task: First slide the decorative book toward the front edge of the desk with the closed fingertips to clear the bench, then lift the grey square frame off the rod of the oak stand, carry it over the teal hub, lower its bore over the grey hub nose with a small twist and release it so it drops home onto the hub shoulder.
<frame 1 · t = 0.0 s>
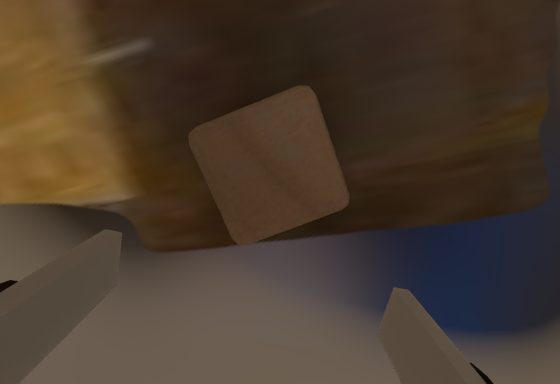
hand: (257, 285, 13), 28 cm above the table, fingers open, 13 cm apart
wooden block: (272, 150, 39), on the table
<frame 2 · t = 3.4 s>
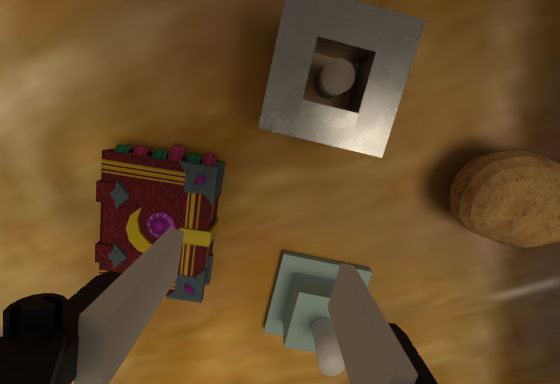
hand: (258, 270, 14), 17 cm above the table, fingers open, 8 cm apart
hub: (315, 298, 34), on the table
potato: (485, 190, 32), on the table
grey square frame: (328, 84, 24), point 5 cm above the table, touching stand
decorative book: (171, 211, 32), on the table
stand: (318, 91, 29), on the table
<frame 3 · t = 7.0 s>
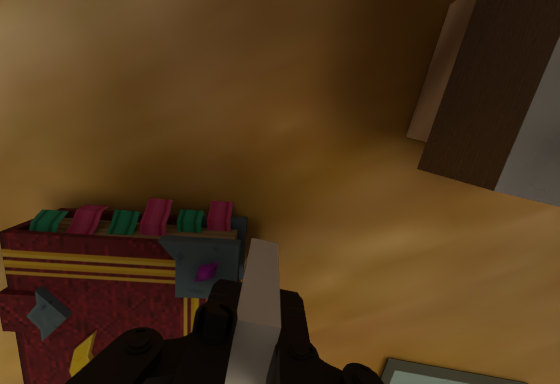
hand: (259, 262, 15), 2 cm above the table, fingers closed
decorative book: (161, 305, 19), on the table, touching gripper
stand: (484, 89, 15), on the table
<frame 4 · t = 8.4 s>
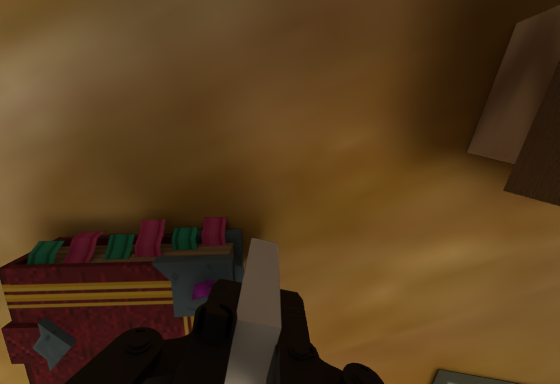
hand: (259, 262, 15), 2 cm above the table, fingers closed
decorative book: (166, 322, 19), on the table
stand: (546, 106, 15), on the table
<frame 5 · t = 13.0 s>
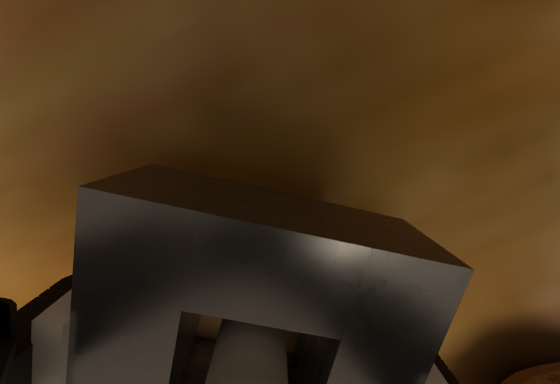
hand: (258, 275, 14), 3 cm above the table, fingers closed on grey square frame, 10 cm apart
grey square frame: (255, 302, 12), point 5 cm above the table, touching gripper, stand
stand: (260, 251, 17), on the table
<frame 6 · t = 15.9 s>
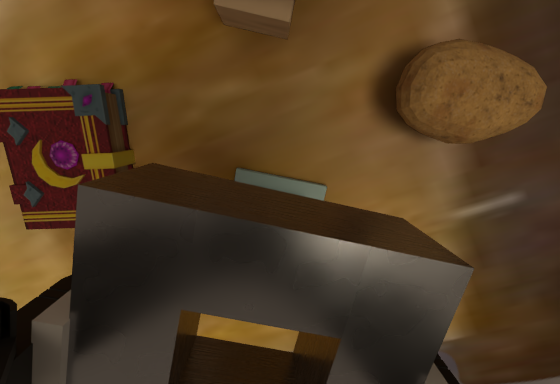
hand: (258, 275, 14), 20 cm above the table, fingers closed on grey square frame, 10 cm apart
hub: (273, 218, 34), on the table
potato: (438, 99, 32), on the table
grey square frame: (255, 301, 12), point 22 cm above the table, touching gripper
decorative book: (88, 152, 33), on the table
when the fingers open (4 cm above the table, at t = 19.2 s): grey square frame stays where it is, resting on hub.
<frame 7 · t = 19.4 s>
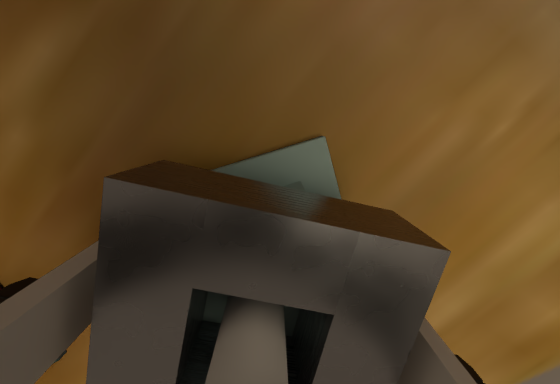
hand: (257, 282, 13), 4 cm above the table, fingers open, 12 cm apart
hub: (261, 244, 17), on the table
grey square frame: (257, 288, 13), point 5 cm above the table, touching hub
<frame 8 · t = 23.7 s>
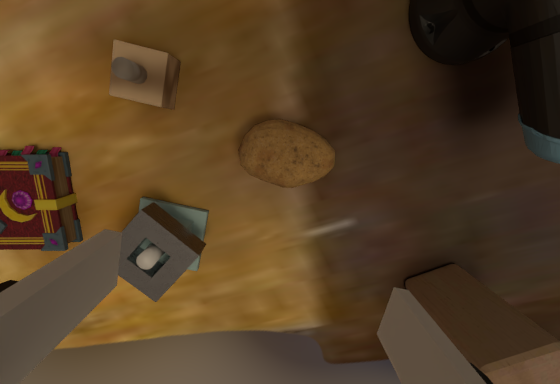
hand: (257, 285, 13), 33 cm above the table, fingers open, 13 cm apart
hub: (171, 233, 47), on the table
potato: (286, 152, 44), on the table
grey square frame: (160, 245, 42), point 5 cm above the table, touching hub
wooden block: (433, 291, 51), on the table
decorative book: (43, 193, 45), on the table
stand: (154, 80, 41), on the table
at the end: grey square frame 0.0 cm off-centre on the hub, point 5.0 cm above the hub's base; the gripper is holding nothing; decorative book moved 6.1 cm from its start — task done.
